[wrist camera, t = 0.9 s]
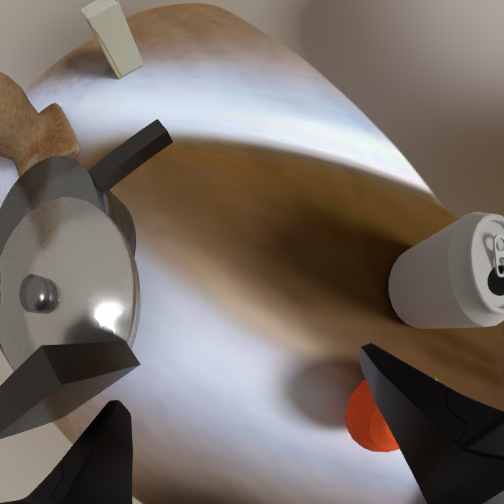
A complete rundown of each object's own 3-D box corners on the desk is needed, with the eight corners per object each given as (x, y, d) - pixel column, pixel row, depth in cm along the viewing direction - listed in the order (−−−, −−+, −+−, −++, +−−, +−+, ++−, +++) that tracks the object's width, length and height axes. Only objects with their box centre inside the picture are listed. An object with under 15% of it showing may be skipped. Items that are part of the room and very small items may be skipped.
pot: (221, 215, 26) (203, 173, 18) (67, 337, 24) (13, 336, 16) (156, 132, 29) (130, 84, 21) (30, 240, 27) (-16, 220, 19)
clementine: (391, 340, 23) (432, 344, 16) (426, 392, 21) (468, 407, 14) (321, 399, 22) (341, 426, 15) (361, 448, 20) (388, 482, 13)
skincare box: (109, 64, 33) (79, 9, 22) (134, 49, 34) (108, -7, 22) (119, 80, 32) (85, 19, 20) (146, 64, 32) (118, 0, 21)
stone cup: (10, 153, 31) (-47, 105, 16) (63, 102, 32) (14, 39, 18) (24, 219, 28) (-59, 172, 13) (89, 156, 29) (16, 78, 14)
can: (388, 335, 23) (472, 339, 11) (378, 252, 25) (450, 202, 13) (452, 320, 23) (541, 311, 11) (441, 246, 24) (521, 202, 13)
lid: (187, 334, 16) (116, 342, 8) (51, 427, 14) (-25, 452, 6) (90, 168, 19) (27, 105, 11) (-11, 274, 17) (-78, 252, 9)
